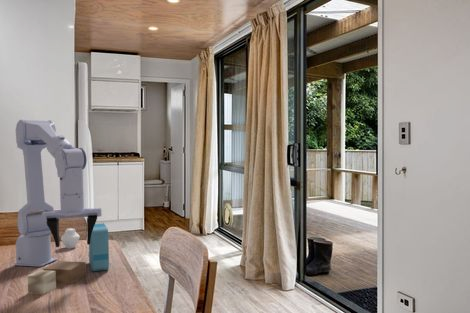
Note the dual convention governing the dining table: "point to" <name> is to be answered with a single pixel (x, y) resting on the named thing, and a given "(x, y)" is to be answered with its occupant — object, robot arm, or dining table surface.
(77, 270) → the walnut base block
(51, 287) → the birch cube
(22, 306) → the dining table surface
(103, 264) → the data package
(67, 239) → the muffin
